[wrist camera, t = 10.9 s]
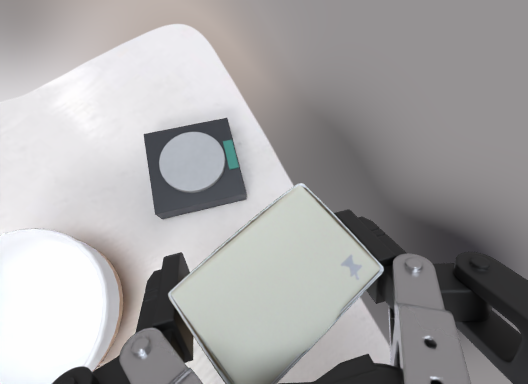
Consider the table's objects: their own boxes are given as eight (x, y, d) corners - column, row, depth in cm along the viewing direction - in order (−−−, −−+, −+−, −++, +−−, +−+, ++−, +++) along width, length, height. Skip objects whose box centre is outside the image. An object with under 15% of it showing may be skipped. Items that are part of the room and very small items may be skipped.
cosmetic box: (276, 230, 22) (306, 171, 10) (314, 273, 21) (395, 263, 9) (211, 286, 20) (158, 293, 8) (249, 335, 19) (247, 419, 7)
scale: (228, 128, 39) (226, 114, 35) (246, 199, 36) (246, 191, 32) (150, 143, 37) (141, 130, 34) (162, 219, 34) (152, 212, 31)
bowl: (158, 353, 30) (127, 378, 22) (1, 424, 27) (-96, 480, 19) (123, 220, 34) (86, 203, 26) (-16, 271, 31) (-100, 268, 24)
